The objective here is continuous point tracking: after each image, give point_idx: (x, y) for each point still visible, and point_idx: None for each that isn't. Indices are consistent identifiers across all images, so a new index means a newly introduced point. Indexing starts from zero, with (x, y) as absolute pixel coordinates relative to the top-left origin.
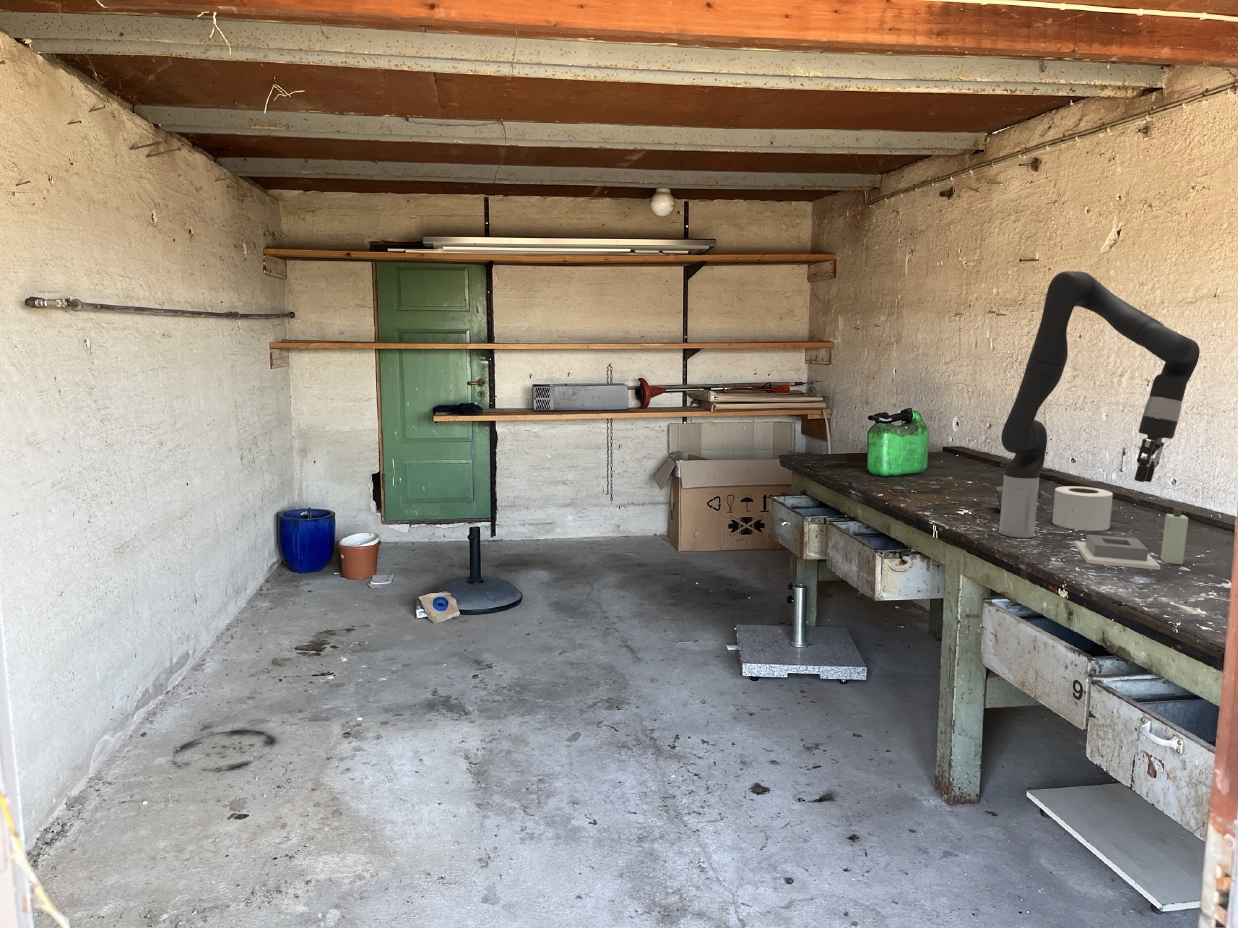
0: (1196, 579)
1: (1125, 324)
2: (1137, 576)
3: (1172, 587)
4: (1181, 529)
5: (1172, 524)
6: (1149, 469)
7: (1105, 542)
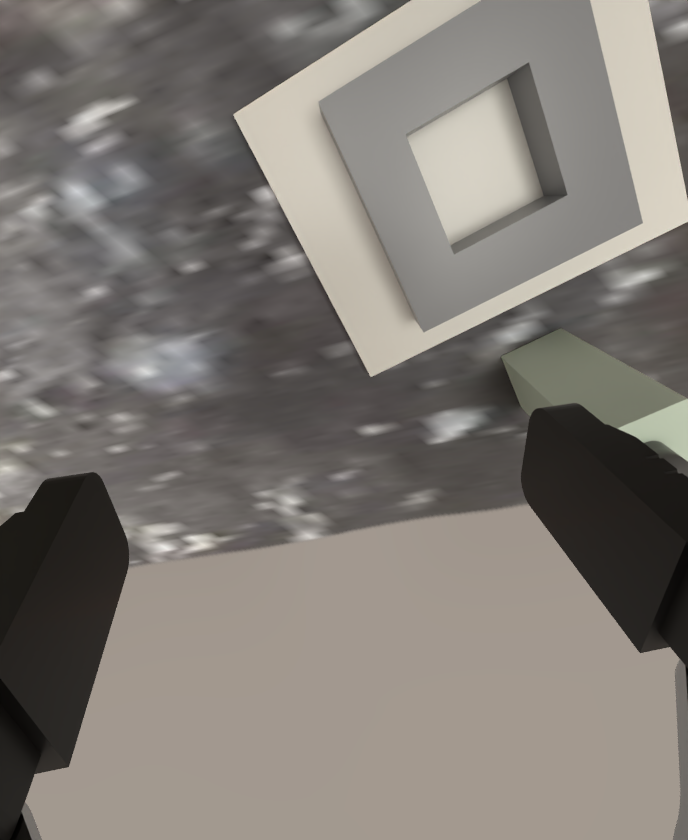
0: (329, 482)
1: None
2: (201, 343)
3: (161, 458)
4: None
5: None
6: (632, 572)
7: (528, 93)
